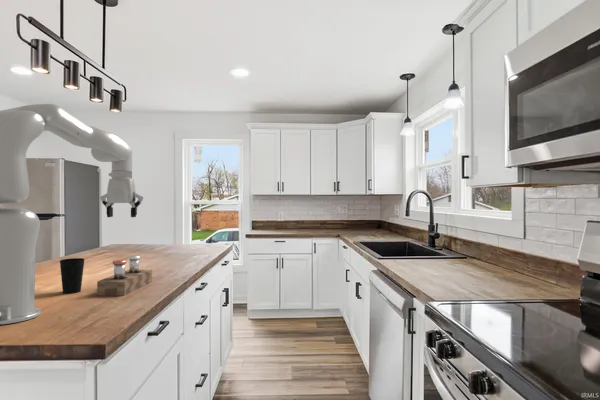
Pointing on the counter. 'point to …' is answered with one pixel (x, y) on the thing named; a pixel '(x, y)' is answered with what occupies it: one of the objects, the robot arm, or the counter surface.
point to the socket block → (124, 283)
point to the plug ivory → (133, 264)
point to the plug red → (119, 269)
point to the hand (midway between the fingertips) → (121, 217)
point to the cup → (71, 274)
